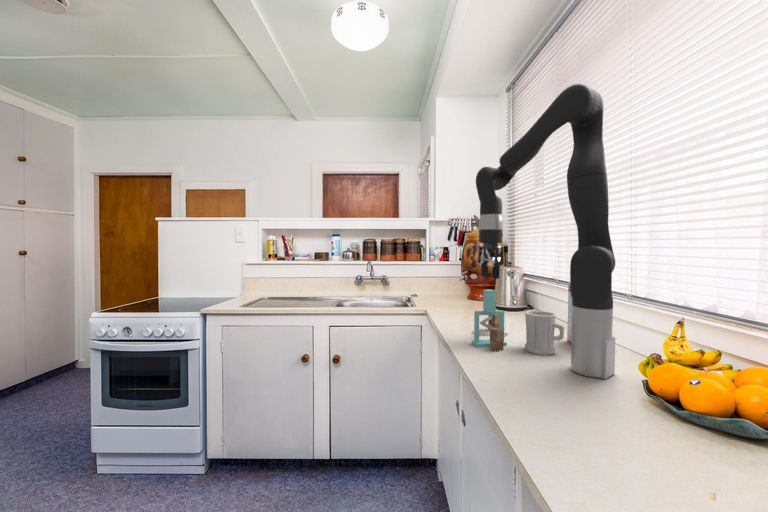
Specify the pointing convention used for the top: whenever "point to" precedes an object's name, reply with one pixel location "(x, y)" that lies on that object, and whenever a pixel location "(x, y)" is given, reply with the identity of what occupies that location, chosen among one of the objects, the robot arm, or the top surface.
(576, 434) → the top surface
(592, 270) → the robot arm
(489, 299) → the turquoise frame with handle
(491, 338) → the wood grain block
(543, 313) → the cup
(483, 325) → the wire
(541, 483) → the top surface
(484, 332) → the pad
